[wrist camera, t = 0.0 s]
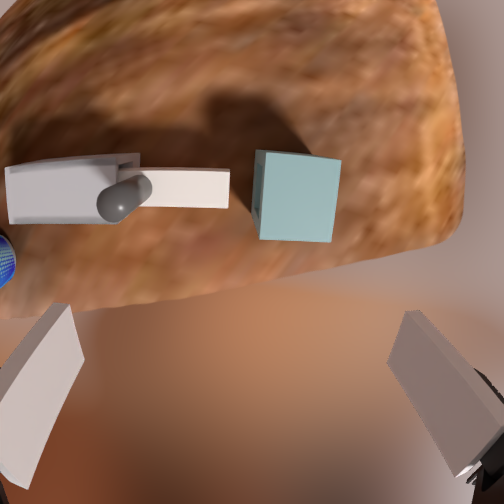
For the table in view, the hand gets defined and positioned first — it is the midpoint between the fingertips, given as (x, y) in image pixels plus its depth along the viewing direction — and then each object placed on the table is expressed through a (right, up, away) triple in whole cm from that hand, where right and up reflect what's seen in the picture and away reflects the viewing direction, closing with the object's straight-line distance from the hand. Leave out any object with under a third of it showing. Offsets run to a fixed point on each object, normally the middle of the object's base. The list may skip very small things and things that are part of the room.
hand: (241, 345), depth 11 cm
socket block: (+4, +12, +26) cm, 29 cm away
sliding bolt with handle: (-14, +11, +21) cm, 27 cm away
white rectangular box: (-20, +13, +24) cm, 34 cm away
